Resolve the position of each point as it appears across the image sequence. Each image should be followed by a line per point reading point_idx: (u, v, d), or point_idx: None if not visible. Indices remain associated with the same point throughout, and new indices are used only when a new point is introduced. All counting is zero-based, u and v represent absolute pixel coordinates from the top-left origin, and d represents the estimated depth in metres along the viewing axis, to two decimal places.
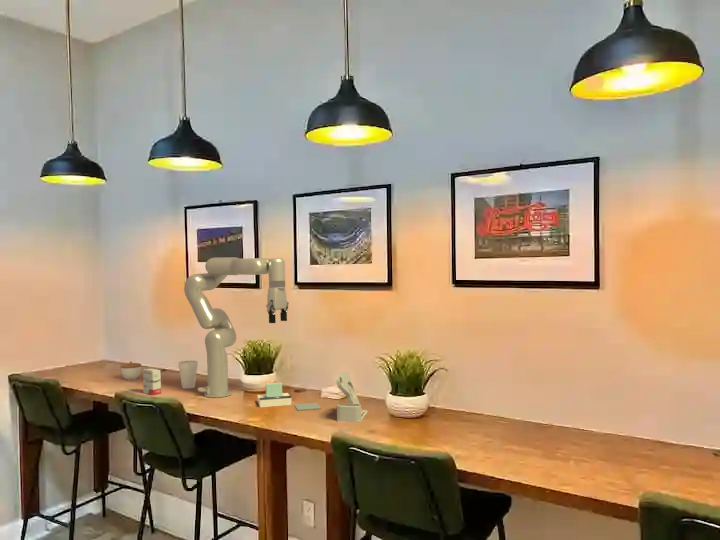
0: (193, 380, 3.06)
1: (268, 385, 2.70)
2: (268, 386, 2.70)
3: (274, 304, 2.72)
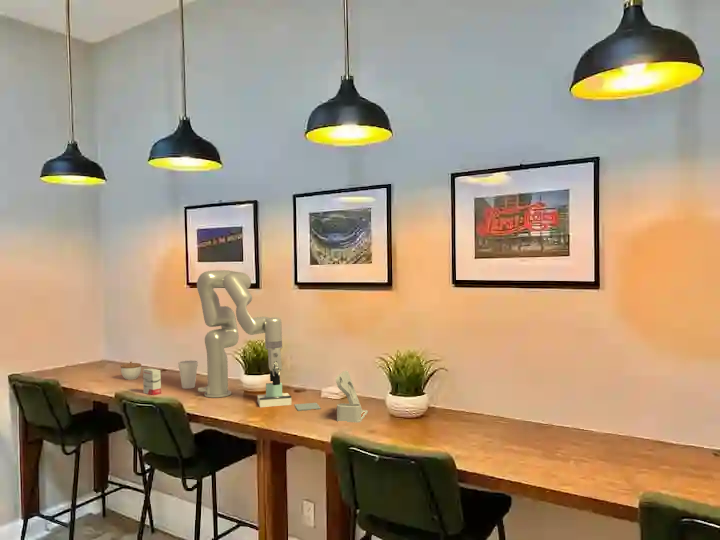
0: (193, 380, 3.06)
1: (268, 385, 2.70)
2: (268, 386, 2.70)
3: None
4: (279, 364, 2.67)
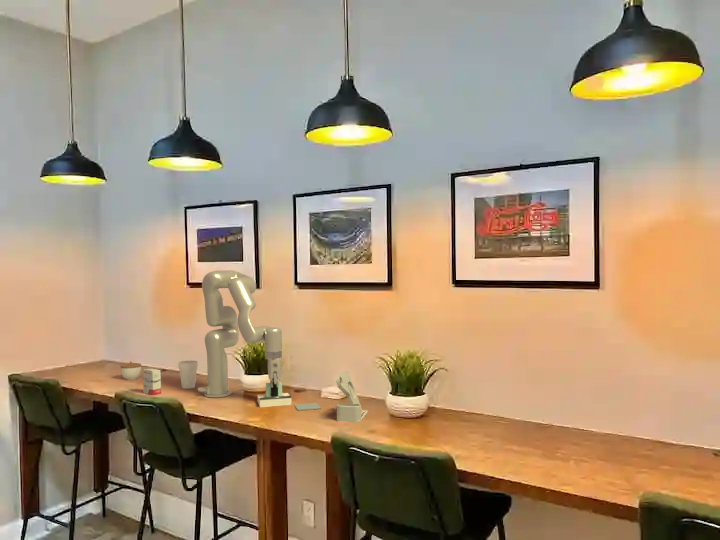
0: (193, 380, 3.06)
1: (268, 385, 2.70)
2: (268, 386, 2.70)
3: None
4: (278, 374, 2.67)
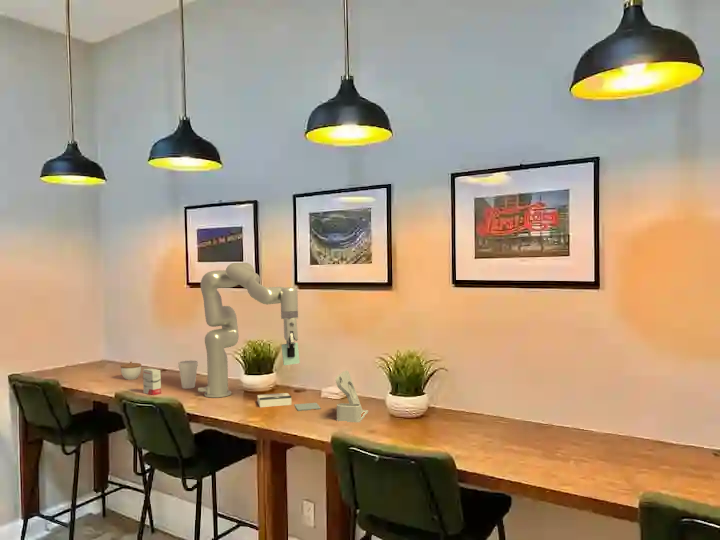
0: (193, 380, 3.06)
1: (284, 346, 2.65)
2: (284, 347, 2.65)
3: None
4: (295, 334, 2.63)
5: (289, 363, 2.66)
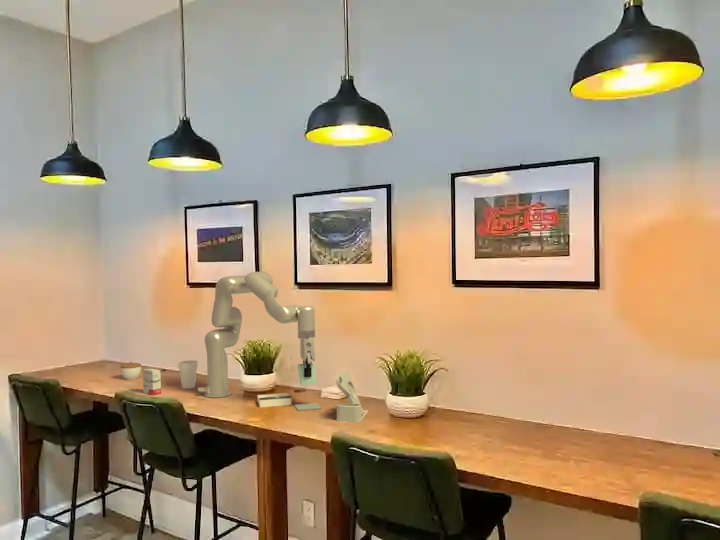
0: (193, 380, 3.06)
1: (300, 366, 2.61)
2: (300, 367, 2.61)
3: None
4: (312, 354, 2.59)
5: (306, 383, 2.62)
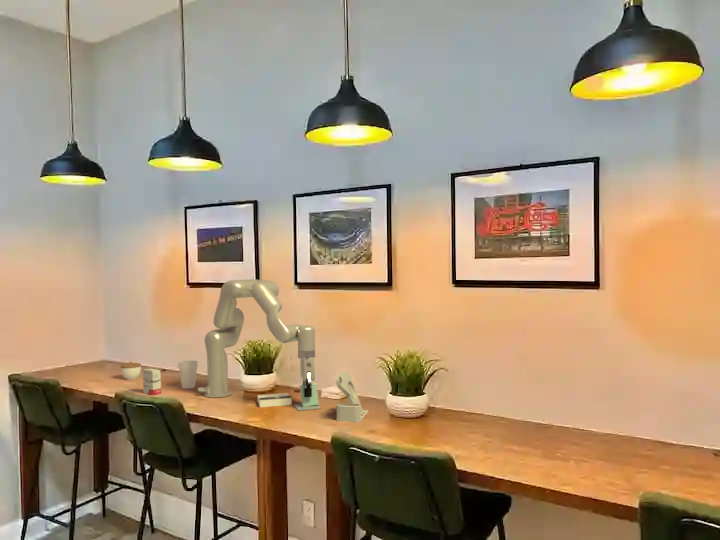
0: (193, 380, 3.06)
1: (302, 387, 2.62)
2: (302, 388, 2.62)
3: None
4: (312, 374, 2.59)
5: (308, 404, 2.63)
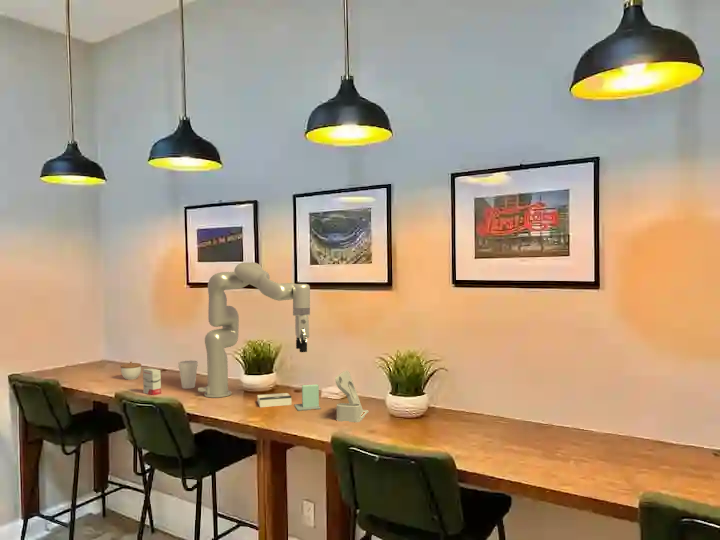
0: (193, 380, 3.06)
1: (304, 387, 2.62)
2: (304, 388, 2.62)
3: None
4: (307, 331, 2.62)
5: (308, 405, 2.63)
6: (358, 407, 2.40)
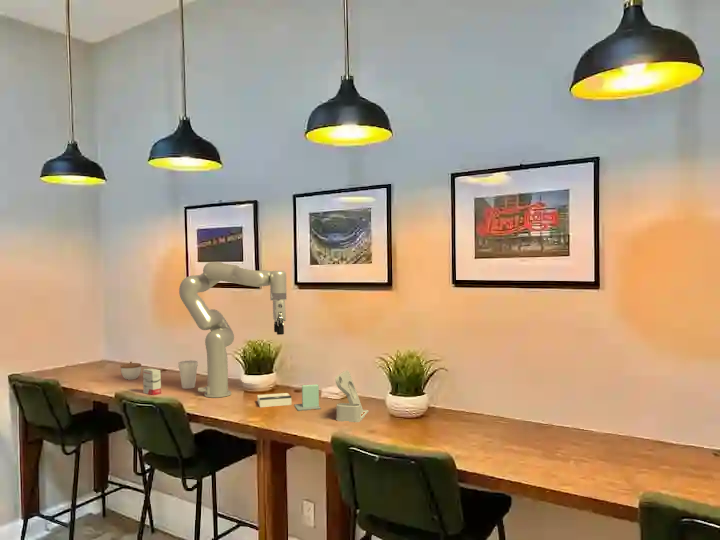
0: (193, 380, 3.06)
1: (304, 387, 2.62)
2: (304, 388, 2.62)
3: None
4: (283, 315, 2.78)
5: (308, 405, 2.63)
6: (358, 407, 2.40)
